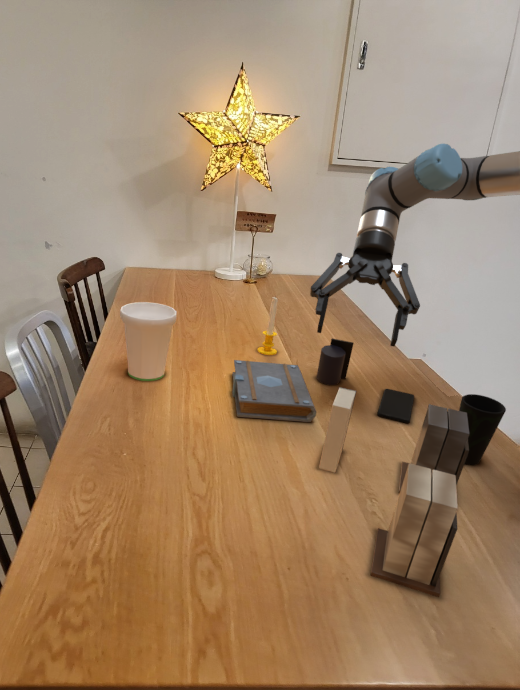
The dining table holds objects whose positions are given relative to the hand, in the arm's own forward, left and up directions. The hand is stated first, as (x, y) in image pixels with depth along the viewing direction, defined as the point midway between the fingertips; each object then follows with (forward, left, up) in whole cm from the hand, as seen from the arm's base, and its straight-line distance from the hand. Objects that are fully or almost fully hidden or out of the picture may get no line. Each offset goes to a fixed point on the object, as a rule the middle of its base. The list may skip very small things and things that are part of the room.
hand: (356, 336), depth 100 cm
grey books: (-18, +11, -21) cm, 29 cm away
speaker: (+5, -25, -21) cm, 33 cm away
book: (+16, -8, -21) cm, 28 cm away
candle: (+24, -35, -21) cm, 47 cm away
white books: (-16, +33, -21) cm, 42 cm away
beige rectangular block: (-1, +11, -21) cm, 23 cm away
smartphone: (-11, -19, -21) cm, 30 cm away
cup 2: (-25, -3, -21) cm, 33 cm away
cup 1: (+45, -5, -21) cm, 50 cm away
